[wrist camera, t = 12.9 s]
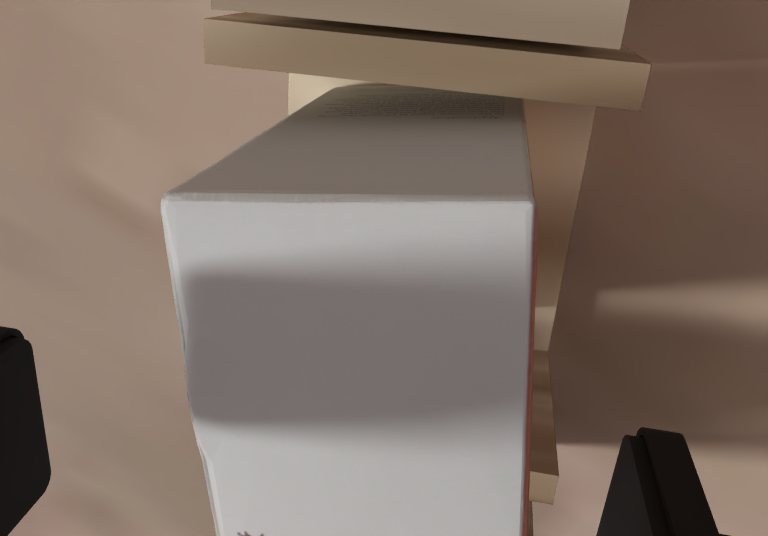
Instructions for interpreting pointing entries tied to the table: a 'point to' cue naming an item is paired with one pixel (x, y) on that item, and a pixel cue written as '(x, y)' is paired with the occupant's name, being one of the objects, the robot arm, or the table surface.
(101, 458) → the table surface
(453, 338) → the small box
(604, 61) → the book rack
